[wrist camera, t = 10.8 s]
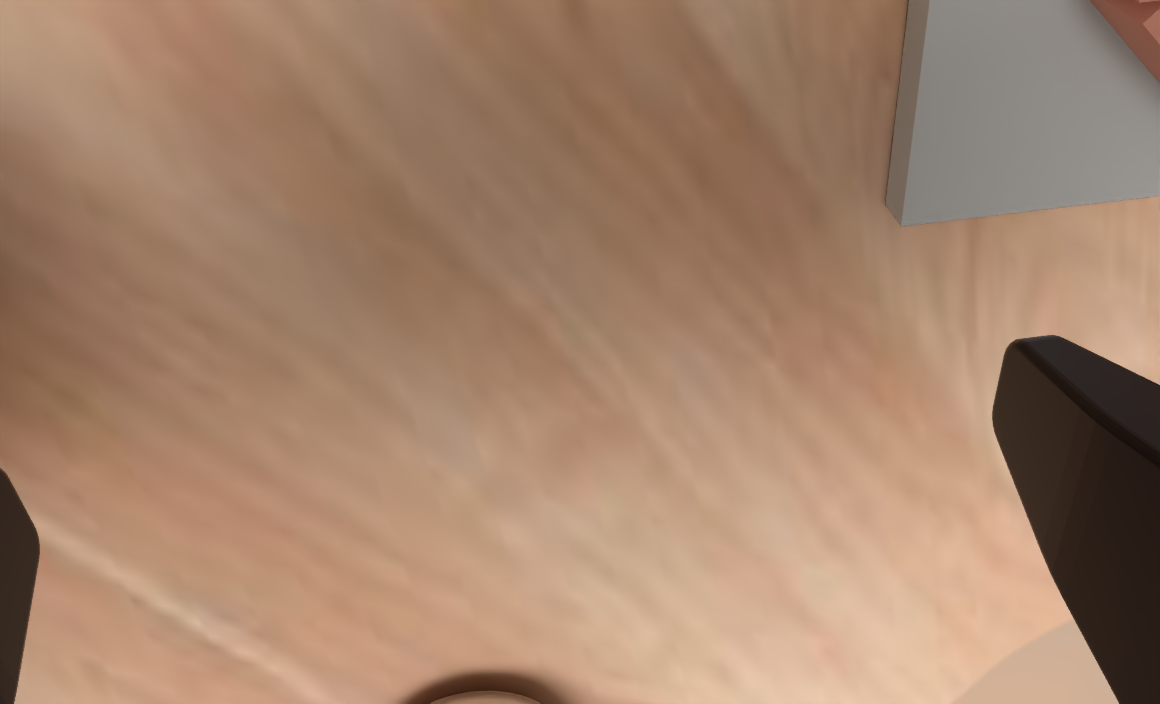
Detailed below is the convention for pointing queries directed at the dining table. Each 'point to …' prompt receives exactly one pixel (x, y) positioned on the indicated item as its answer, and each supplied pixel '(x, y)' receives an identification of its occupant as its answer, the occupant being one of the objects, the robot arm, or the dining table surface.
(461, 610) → the dining table surface
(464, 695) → the plastic bottle
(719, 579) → the dining table surface
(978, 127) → the band dock
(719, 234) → the dining table surface
